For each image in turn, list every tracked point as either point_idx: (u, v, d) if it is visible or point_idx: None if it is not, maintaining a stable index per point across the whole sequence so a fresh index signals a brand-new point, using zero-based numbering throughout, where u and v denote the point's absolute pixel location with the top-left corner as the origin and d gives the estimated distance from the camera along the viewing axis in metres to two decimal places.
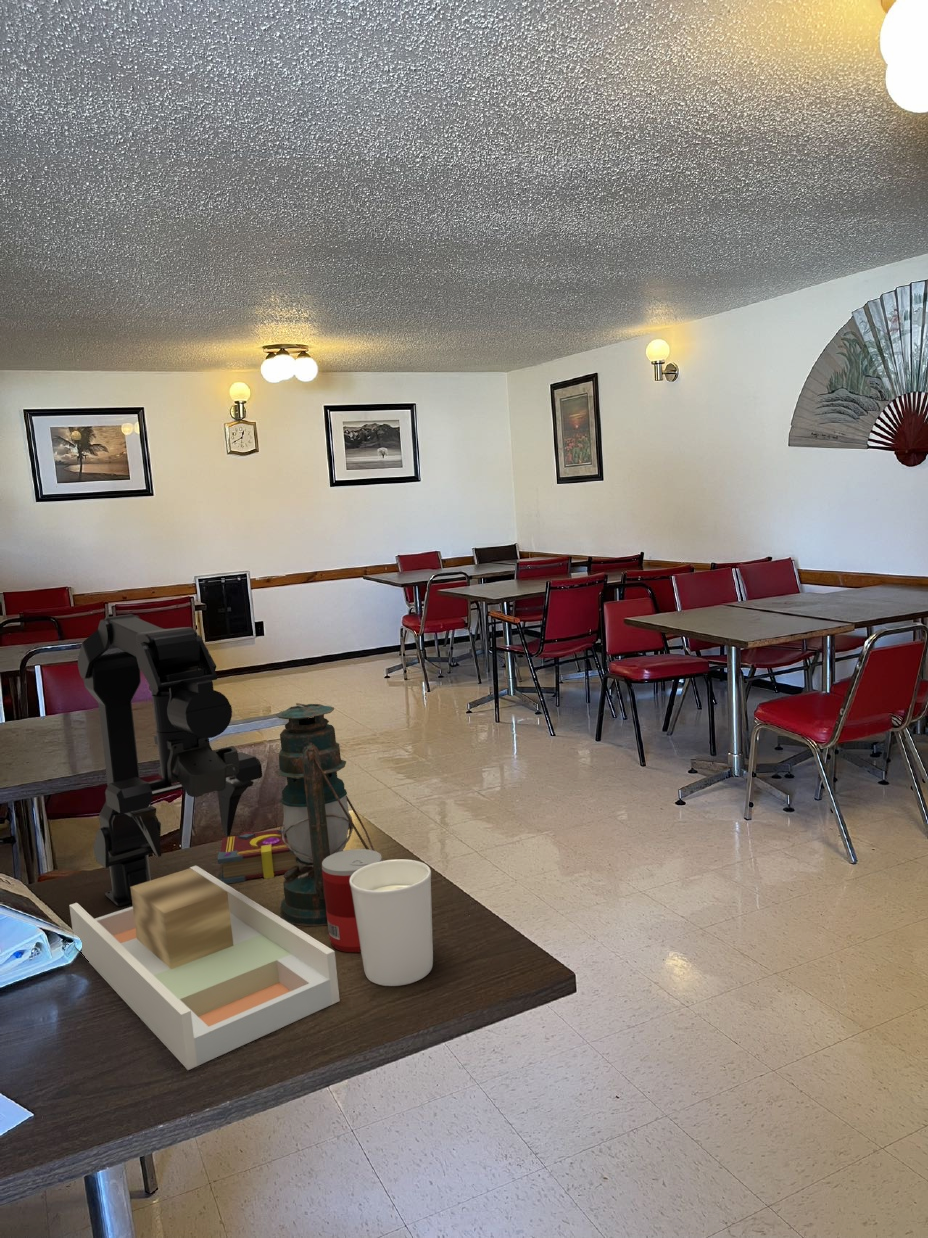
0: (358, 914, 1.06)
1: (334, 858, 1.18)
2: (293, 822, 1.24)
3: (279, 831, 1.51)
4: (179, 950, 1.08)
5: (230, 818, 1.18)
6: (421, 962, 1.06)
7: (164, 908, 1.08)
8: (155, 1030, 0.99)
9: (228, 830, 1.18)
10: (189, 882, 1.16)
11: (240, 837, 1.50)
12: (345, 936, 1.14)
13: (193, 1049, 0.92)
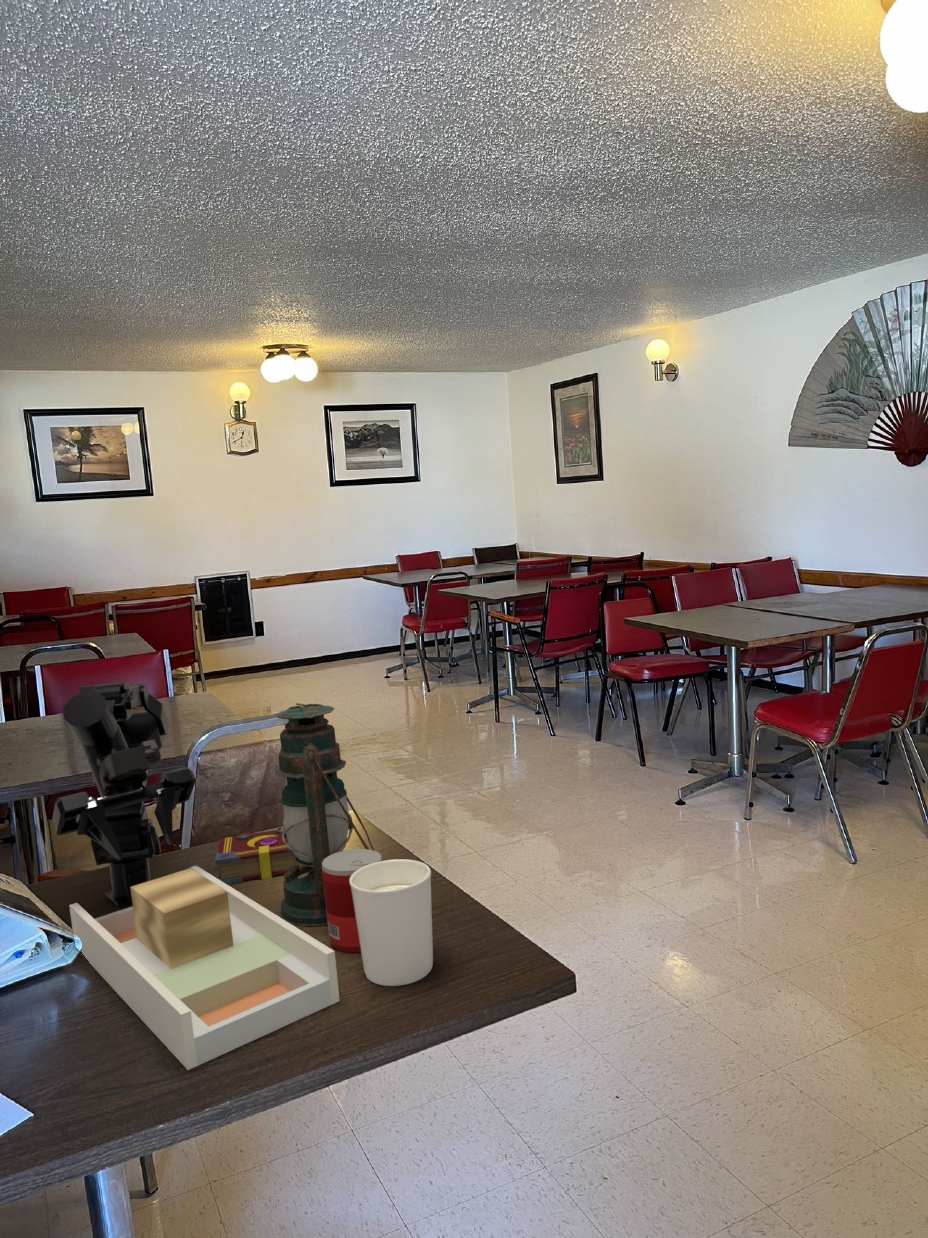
0: (358, 914, 1.06)
1: (334, 858, 1.18)
2: (293, 822, 1.24)
3: (277, 832, 1.51)
4: (179, 950, 1.08)
5: (168, 824, 1.25)
6: (421, 962, 1.06)
7: (164, 908, 1.08)
8: (155, 1030, 0.99)
9: (169, 835, 1.24)
10: (189, 882, 1.16)
11: (237, 838, 1.49)
12: (345, 936, 1.14)
13: (193, 1049, 0.92)
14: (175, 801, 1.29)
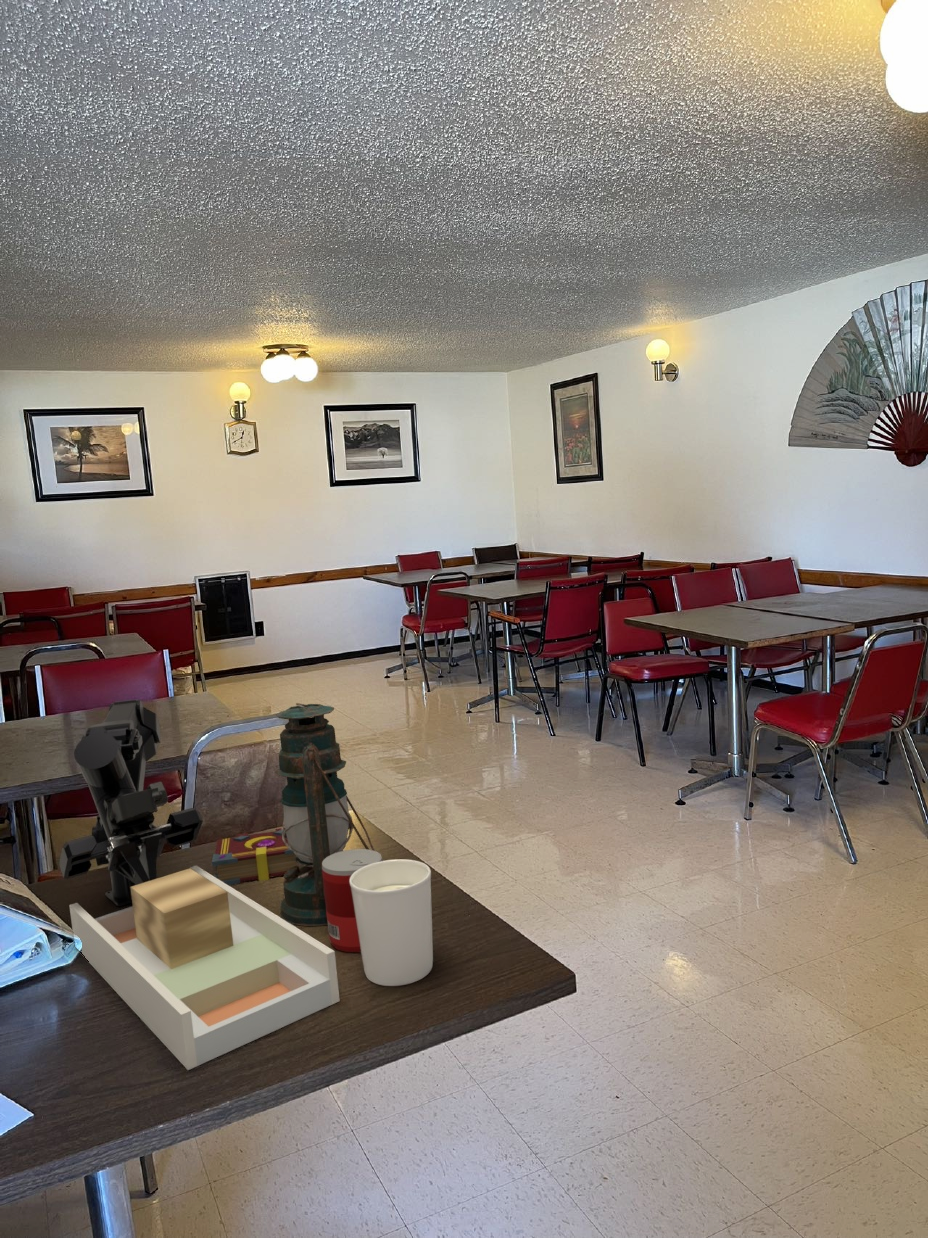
0: (358, 914, 1.06)
1: (334, 858, 1.18)
2: (293, 822, 1.24)
3: (274, 833, 1.50)
4: (179, 950, 1.08)
5: (152, 873, 1.23)
6: (421, 962, 1.06)
7: (164, 908, 1.08)
8: (155, 1030, 0.99)
9: None
10: (189, 882, 1.16)
11: (235, 839, 1.49)
12: (345, 936, 1.14)
13: (193, 1049, 0.92)
14: (160, 849, 1.27)
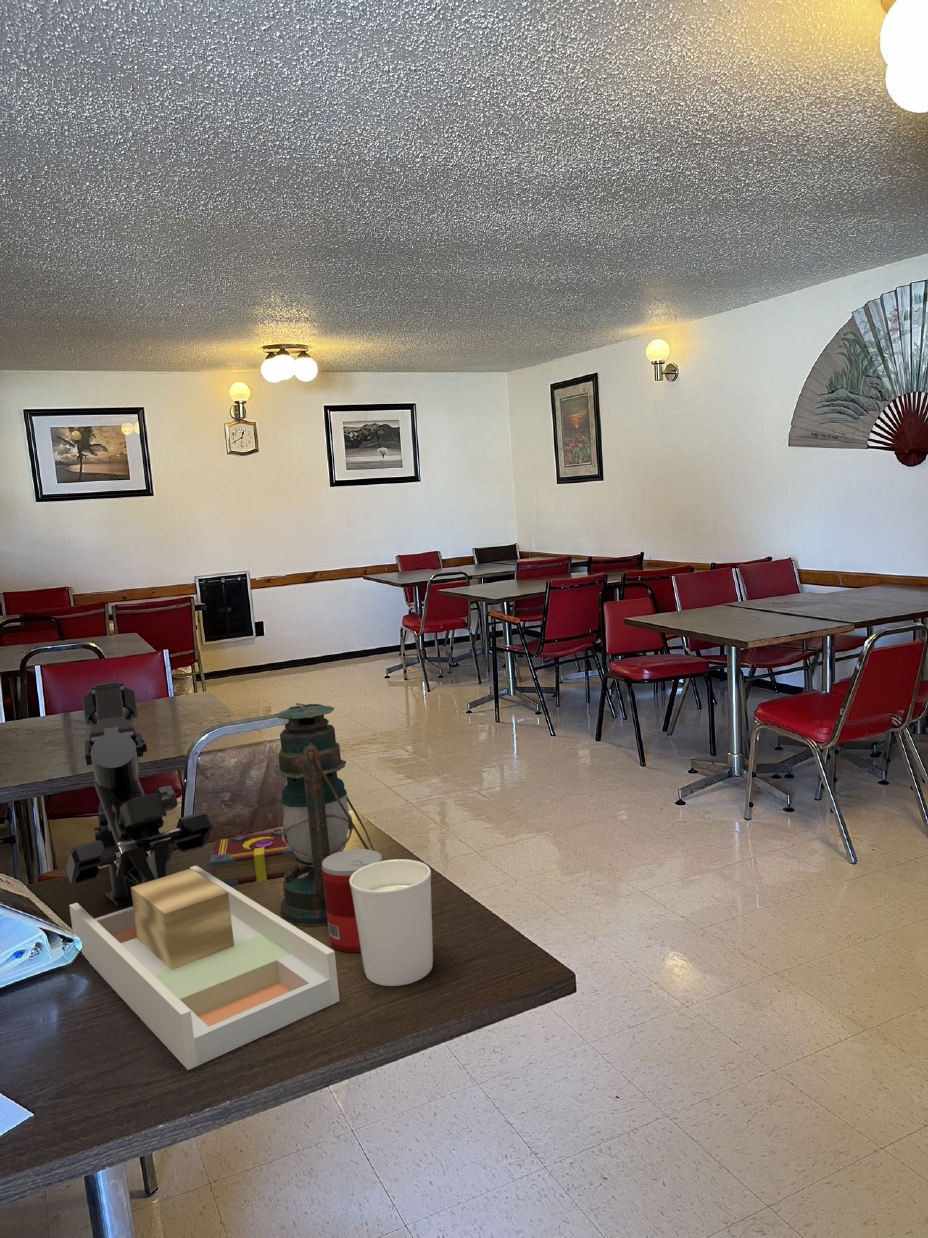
0: (358, 914, 1.06)
1: (334, 858, 1.18)
2: (293, 822, 1.24)
3: (272, 834, 1.50)
4: (180, 951, 1.08)
5: None
6: (421, 962, 1.06)
7: (164, 908, 1.08)
8: (155, 1030, 0.99)
9: None
10: (190, 883, 1.16)
11: (233, 840, 1.49)
12: (345, 936, 1.14)
13: (193, 1049, 0.92)
14: (169, 854, 1.24)
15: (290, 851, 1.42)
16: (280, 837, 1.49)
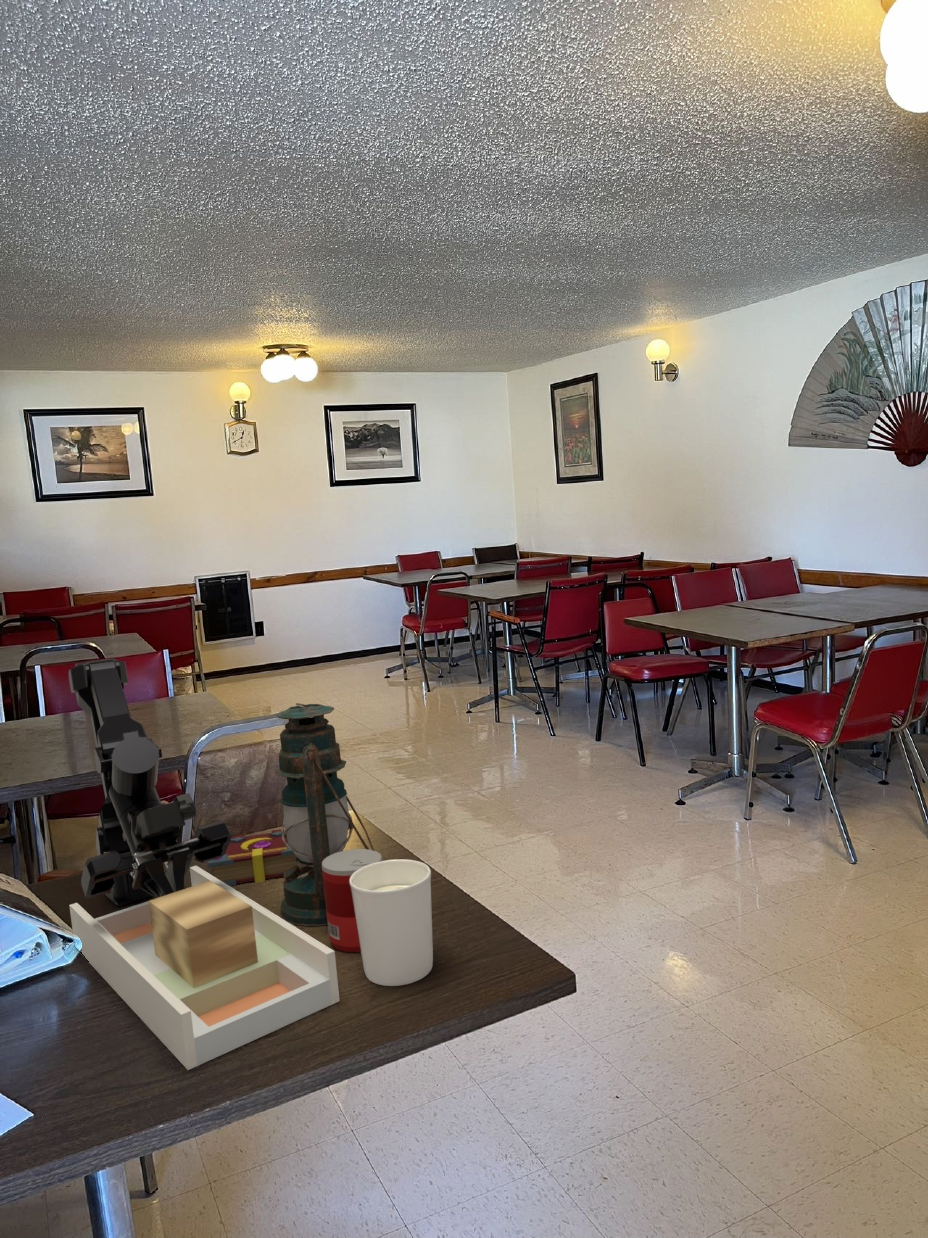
0: (358, 914, 1.06)
1: (334, 858, 1.18)
2: (293, 822, 1.24)
3: (270, 834, 1.50)
4: (202, 968, 1.03)
5: None
6: (421, 962, 1.06)
7: (186, 924, 1.03)
8: (155, 1030, 0.99)
9: None
10: (211, 896, 1.11)
11: (231, 841, 1.48)
12: (345, 936, 1.14)
13: (193, 1049, 0.92)
14: (187, 865, 1.19)
15: (288, 852, 1.42)
16: (278, 838, 1.49)
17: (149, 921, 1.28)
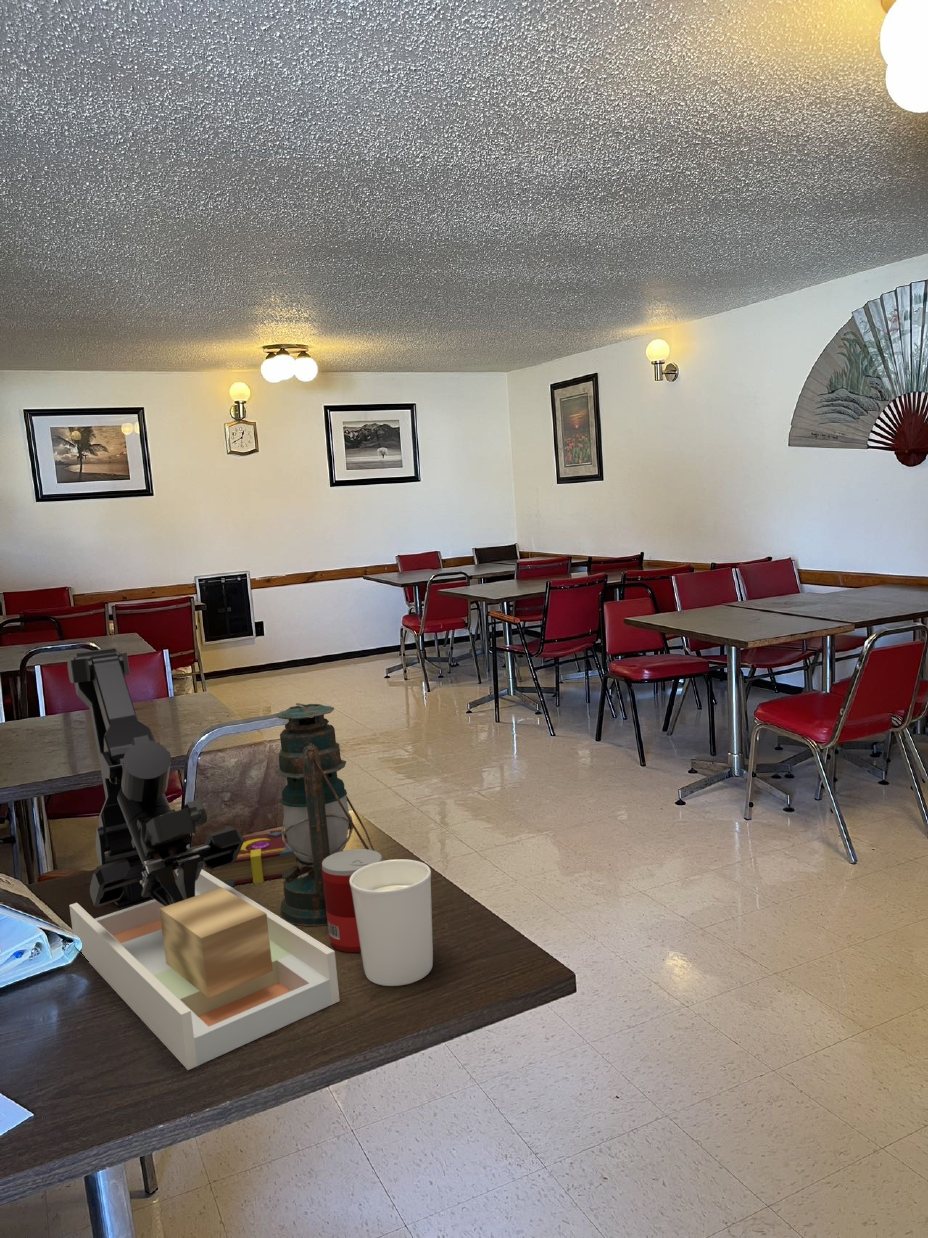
0: (358, 914, 1.06)
1: (334, 858, 1.18)
2: (293, 822, 1.24)
3: (269, 835, 1.50)
4: (217, 977, 1.01)
5: None
6: (421, 962, 1.06)
7: (200, 932, 1.01)
8: (155, 1030, 0.99)
9: None
10: (223, 903, 1.08)
11: None
12: (345, 936, 1.14)
13: (193, 1049, 0.92)
14: (197, 873, 1.17)
15: (287, 852, 1.41)
16: (276, 838, 1.48)
17: (149, 921, 1.28)
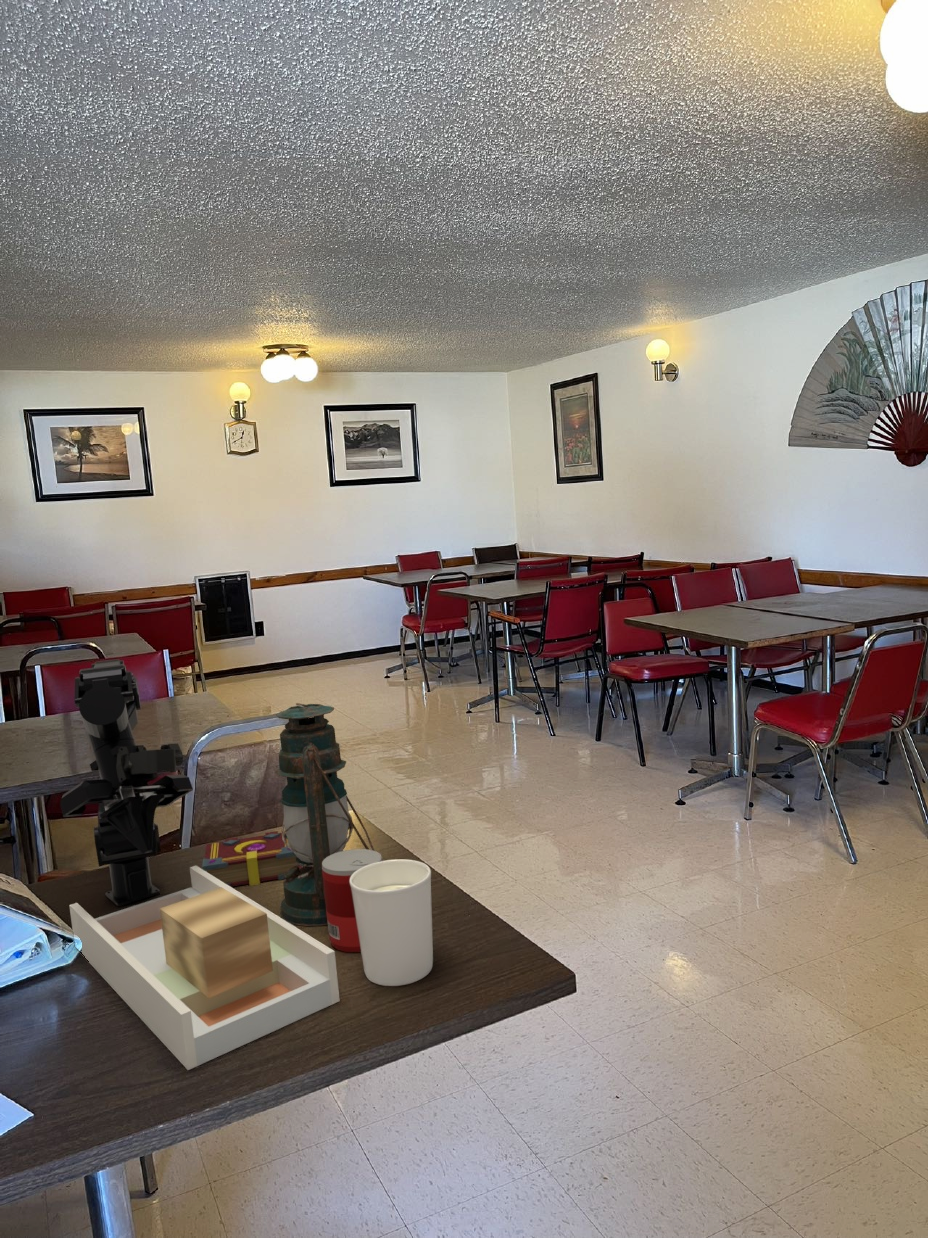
0: (358, 914, 1.06)
1: (334, 858, 1.18)
2: (293, 822, 1.24)
3: (264, 837, 1.49)
4: (217, 977, 1.00)
5: (149, 831, 1.23)
6: (421, 962, 1.06)
7: (200, 932, 1.01)
8: (155, 1030, 0.99)
9: (150, 844, 1.22)
10: (223, 903, 1.08)
11: (224, 843, 1.47)
12: (345, 936, 1.14)
13: (193, 1049, 0.92)
14: None
15: (283, 854, 1.41)
16: (272, 840, 1.48)
17: (149, 921, 1.28)
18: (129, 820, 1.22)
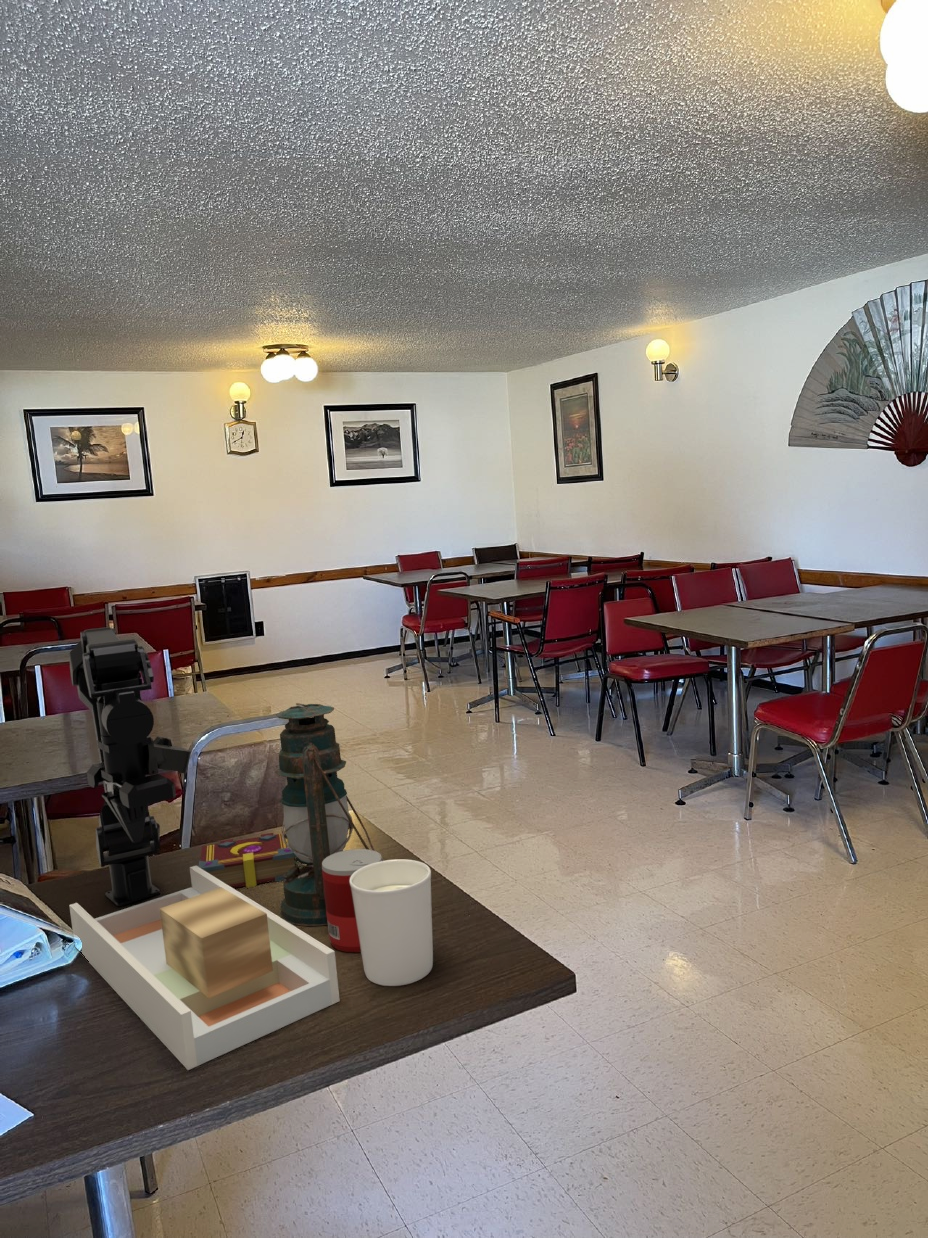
0: (358, 914, 1.06)
1: (334, 858, 1.18)
2: (293, 822, 1.24)
3: (260, 838, 1.48)
4: (217, 977, 1.00)
5: None
6: (421, 962, 1.06)
7: (200, 932, 1.01)
8: (155, 1030, 0.99)
9: None
10: (223, 903, 1.08)
11: (220, 845, 1.46)
12: (345, 936, 1.14)
13: (193, 1049, 0.92)
14: None
15: (280, 856, 1.40)
16: (268, 842, 1.47)
17: (149, 921, 1.28)
18: (136, 810, 1.23)
